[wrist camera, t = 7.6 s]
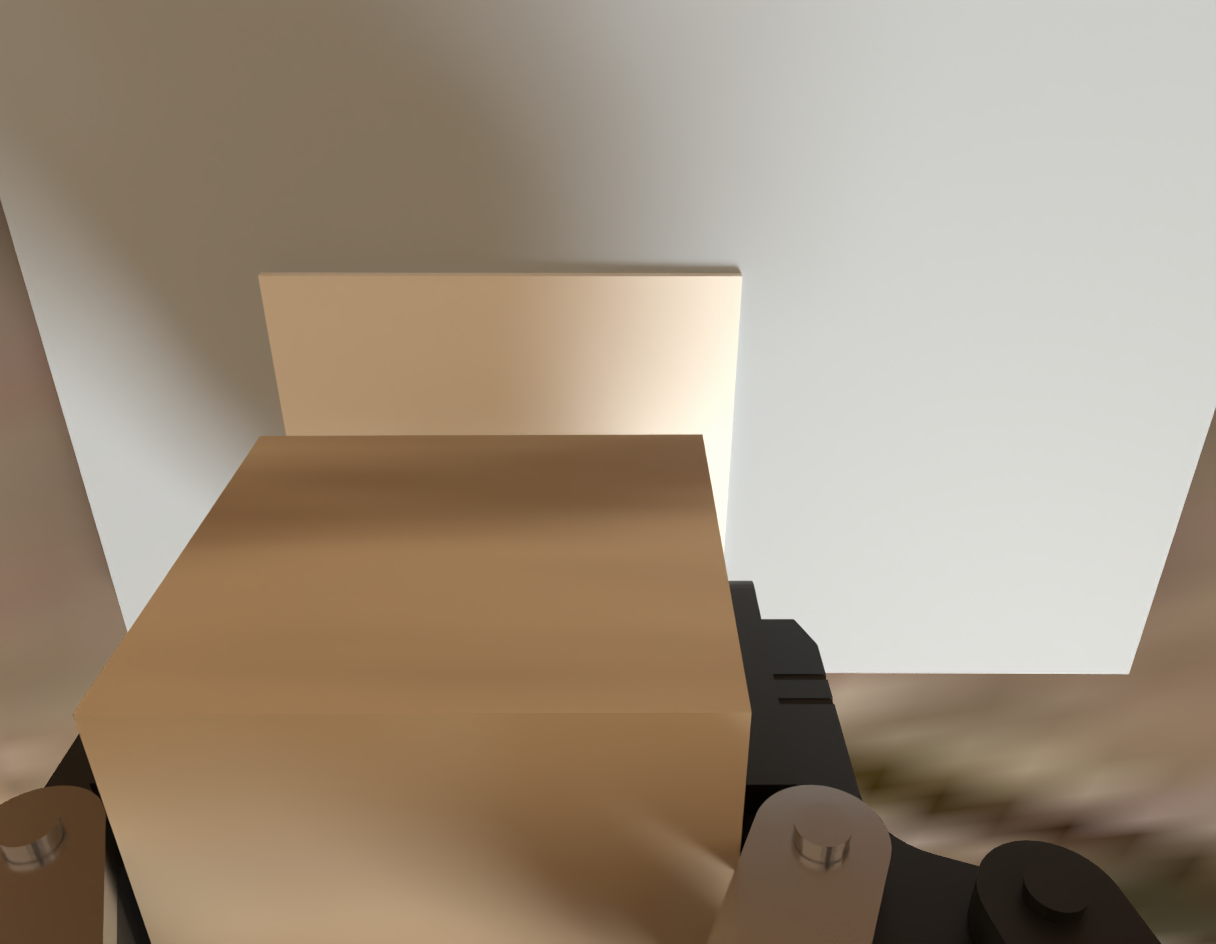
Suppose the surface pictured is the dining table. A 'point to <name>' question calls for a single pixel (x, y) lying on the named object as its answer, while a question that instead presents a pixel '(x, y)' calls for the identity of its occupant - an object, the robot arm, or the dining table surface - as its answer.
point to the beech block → (434, 699)
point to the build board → (656, 275)
